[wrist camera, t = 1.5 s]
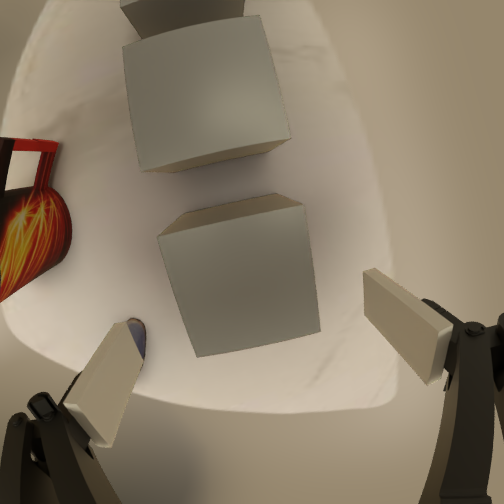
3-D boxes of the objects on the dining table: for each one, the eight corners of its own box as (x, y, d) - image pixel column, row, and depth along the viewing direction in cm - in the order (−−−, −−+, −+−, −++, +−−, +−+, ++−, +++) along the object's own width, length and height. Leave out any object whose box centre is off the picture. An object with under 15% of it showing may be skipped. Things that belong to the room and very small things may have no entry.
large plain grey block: (183, 213, 26) (156, 236, 16) (276, 193, 26) (303, 204, 16) (206, 298, 28) (196, 357, 19) (292, 280, 28) (320, 331, 19)
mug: (64, 139, 22) (-12, 131, 11) (79, 264, 26) (15, 312, 15) (9, 160, 22) (-61, 166, 10) (24, 269, 26) (-36, 308, 14)
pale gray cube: (157, 87, 22) (122, 46, 12) (249, 66, 22) (259, 15, 12) (174, 172, 24) (140, 172, 15) (268, 151, 25) (291, 138, 15)
